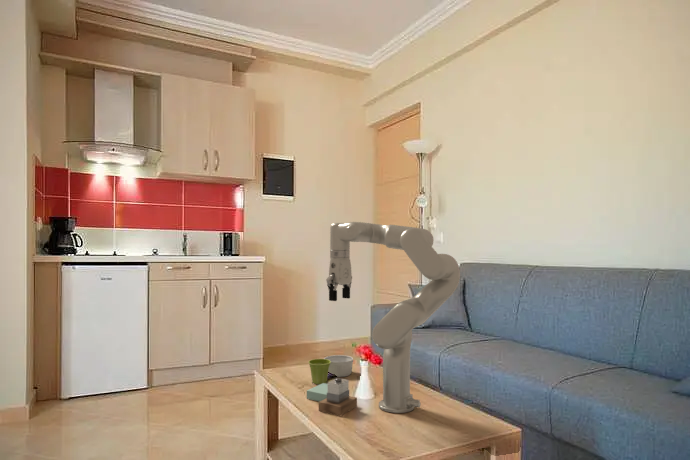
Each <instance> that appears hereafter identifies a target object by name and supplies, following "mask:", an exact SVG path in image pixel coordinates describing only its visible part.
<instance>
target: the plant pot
mask: <svg viewBox="0 0 690 460" xmlns="http://www.w3.org/2000/svg"><path fill="white" fill-rule="evenodd" d="M330 363H331V361H330V360H327V359H324V358H314V359H310V360H308V364H309V368H310V375H311V382H312V384H315V385H320V384H322V383H325V384H327V383H328V382H327V381H328V369H329V366H330Z"/></svg>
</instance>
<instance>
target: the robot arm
mask: <svg viewBox="0 0 690 460" xmlns="http://www.w3.org/2000/svg"><path fill="white" fill-rule="evenodd" d="M329 231H330V232H329V234H330V237H329V238H330V239H329V242H330V243H329V246H330V247H329V248H330V249H329V252H330V253H329V254H330V255H329V267H328V268H329V269H328V277H326V280H325V281H326V285H327V289H328V300H329V301H331V302H337V300H338V290H337V288H338V285H340V286H342V288H341V289H342V294H341V296H342V297H341V298H343V299H350V298H351V286H352V283H353V282H352V281H353V272H352V264H351V262H352V261H351V258H350V257H351V256H350V255H351V254H350V252H351V251H350V250H351V249H350V246H351V242H353V243H371V244H378V245H382V246H383V245H384V246H386V248H388V249H392V250H393V249H395V250H400V251H404V252H405V254H406V255H407V256H408V258H409V259H410V260H411V262H412V264H413V265H414V266H415V267H416V268H417V270H418V271H419V272H420V274H422V275H423V277H425V278H427V279H428V280H430V282H428V283H427V284H425V286H424V287H422V288H421V290H419V291H418V292H417V293H416V294H415V295H414V296H413V297H411V298H408V299H404V300H402V301H399V302H398V303H397V304H395V306H393V307H392V308H391V309H390V310H389V311H388V312H387V313H386V314H385V315H384V316H383V317H382V318H381V319H380V320H379V321H378V322H377V323H376V324H375V326H374V327H373V329H372V333H371V334H372V335H371V336H372V340H373V343H374V344H375V346H376V347H378V348H380V349H381V350H383V355H382V357H383V358H382V360H383V361H382V362H383V363H382V399H381V400H379V402H378V408H379V409H380V410H382V411H384V412H388V413H393V414H403V413H409V412H412V411H414V409H415V408H420V407H421V400H420V399H414V397H413V393H411V347H412V340H413V329H414V328H417V327H419V326H422V325H423V324H425V322H426V321H427V320H429V318H430V317H431V316H433V314H434V313H435V312H437V311H438V310H439V309H440V307H442V306H443V304H444V303H446V302H447V300H448V299H450V298H451V297H452V295H453V294H454V293H455V291H456V289H457V288H458V286H459V282H460V278H461V271H460V267H459V263H458V262H457V259H455V258H454V257H453V256H452V255H450V254H448V253H438V252H437V251H436V250H435V249H434V247H433V245H434V236H433V234H432V232H431V231H430V230H428V229H425V228H423V227H413V226H405V225H395V224H389V225H388V224H378V223H369V222H361V221H349V222H334V223H331V224H330V230H329Z"/></svg>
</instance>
